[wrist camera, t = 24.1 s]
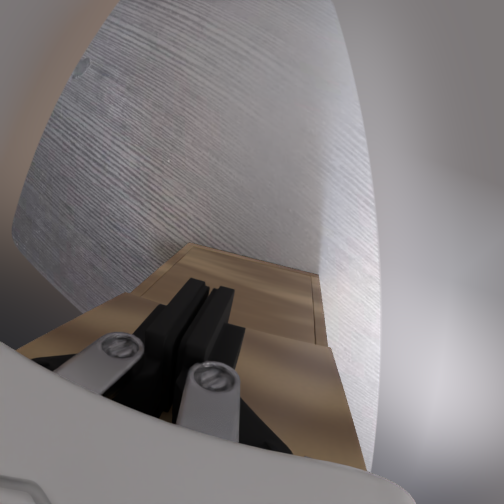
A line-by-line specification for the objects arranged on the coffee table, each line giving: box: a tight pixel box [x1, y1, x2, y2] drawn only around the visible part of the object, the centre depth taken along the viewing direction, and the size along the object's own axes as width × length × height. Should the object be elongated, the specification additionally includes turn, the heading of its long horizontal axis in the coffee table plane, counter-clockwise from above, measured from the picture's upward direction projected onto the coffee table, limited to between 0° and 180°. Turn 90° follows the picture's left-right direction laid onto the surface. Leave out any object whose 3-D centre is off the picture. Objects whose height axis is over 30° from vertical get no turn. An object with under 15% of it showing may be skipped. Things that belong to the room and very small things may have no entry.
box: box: [130, 242, 328, 347], centre depth 26 cm, size 14×13×12 cm
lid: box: [15, 292, 367, 471], centre depth 11 cm, size 14×13×1 cm
